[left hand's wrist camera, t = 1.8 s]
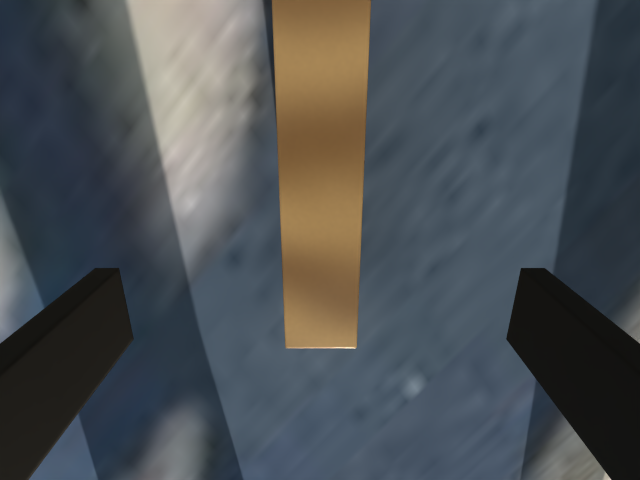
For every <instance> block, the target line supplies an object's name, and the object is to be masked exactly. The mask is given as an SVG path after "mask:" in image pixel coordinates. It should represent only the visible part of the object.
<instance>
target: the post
mask: <svg viewBox="0 0 640 480" xmlns="http://www.w3.org/2000/svg"><path fill="white" fill-rule="evenodd" d="M370 11H371V0H272V16H273V42H274V68H275V93H276V119H277V144H278V170H279V196H280V221H281V247H282V273H283V298H284V324H285V347H286V348H356V347H357V326H358V302H359V278H360V253H361V229H362V205H363V181H364V156H365V132H366V108H367V84H368V60H369V35H370Z"/></svg>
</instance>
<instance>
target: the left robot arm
mask: <svg viewBox="0 0 640 480" xmlns="http://www.w3.org/2000/svg"><path fill="white" fill-rule="evenodd" d="M133 339H134V338H133V333H132V329H131V324H130V319H129V314H128V310H127V305H126V300H125V295H124V290H123V286H122V281H121V276H120V271H119V268H95V269H94V270H92V271H91V272H90V273H89V274H87V275H86V276H85V277H84V278H82V279H81V280H80V281H79V282H77V283H76V284H75V285H74V286H72V287H71V288H70V289H69V290H67V291H66V292H65V293H63V294H62V295H61V296H60V297H58V298H57V299H56V300H55V301H53V302H52V303H51V304H50V305H48V306H47V307H46V308H45V309H43V310H42V311H41V312H40V313H38V314H37V315H36V316H34V317H33V318H32V319H31V320H29V321H28V322H27V323H26V324H24V325H23V326H22V327H21V328H19V329H18V330H17V331H16V332H14V333H13V334H12V335H11V336H9V337H8V338H7V339H6V340H4V341H3V342H2V343H0V480H29V478H30V477H31V476H32V474H33V473H34V472H35V470H36V469H37V468H38V466H39V465H40V464H41V462H42V461H43V460H44V458H45V457H46V456H47V454H48V453H49V452H50V450H51V449H52V448H53V446H54V445H55V444H56V442H57V441H58V440H59V438H60V437H61V436H62V434H63V433H64V432H65V430H66V429H67V428H68V426H69V425H70V423H71V422H72V421H73V419H74V418H75V417H76V415H77V414H78V413H79V411H80V410H81V409H82V407H83V406H84V405H85V403H86V402H87V401H88V399H89V398H90V397H91V395H92V394H93V393H94V391H95V390H96V389H97V387H98V386H99V385H100V383H101V382H102V381H103V379H104V378H105V377H106V375H107V374H108V373H109V371H110V370H111V369H112V367H113V366H114V365H115V363H116V362H117V361H118V359H119V358H120V357H121V355H122V354H123V353H124V351H125V350H126V349H127V347H128V346H129V345H130V343H131V342H132V341H133ZM506 339H507V341H508V342H509V343H510V345H511V346H512V347H513V349H514V350H515V351H516V353H517V354H518V355H519V357H520V358H521V359H522V361H523V362H524V363H525V365H526V366H527V367H528V369H529V370H530V371H531V373H532V374H533V375H534V377H535V378H536V379H537V381H538V382H539V383H540V385H541V386H542V387H543V389H544V390H545V391H546V393H547V394H548V395H549V397H550V398H551V399H552V401H553V402H554V403H555V405H556V406H557V407H558V409H559V410H560V411H561V413H562V414H563V415H564V417H565V418H566V419H567V421H568V422H569V423H570V425H571V426H572V428H573V429H574V430H575V432H576V433H577V434H578V436H579V437H580V438H581V440H582V441H583V442H584V444H585V445H586V446H587V448H588V449H589V450H590V452H591V453H592V454H593V456H594V457H595V458H596V460H597V461H598V462H599V464H600V465H601V466H602V468H603V469H604V470H605V472H606V473H607V474H608V476H609V477H610V478H611V480H640V343H638V342H637V341H636V340H634V339H633V338H632V337H631V336H629V335H628V334H627V333H626V332H624V331H623V330H622V329H621V328H619V327H618V326H617V325H616V324H614V323H613V322H612V321H611V320H609V319H608V318H607V317H606V316H604V315H603V314H602V313H600V312H599V311H598V310H597V309H595V308H594V307H593V306H592V305H590V304H589V303H588V302H587V301H585V300H584V299H583V298H582V297H580V296H579V295H578V294H577V293H575V292H574V291H573V290H571V289H570V288H569V287H568V286H566V285H565V284H564V283H563V282H561V281H560V280H559V279H558V278H556V277H555V276H554V275H553V274H551V273H550V272H549V271H548V270H546V269H545V268H521V271H520V276H519V281H518V286H517V290H516V295H515V300H514V305H513V309H512V314H511V319H510V324H509V329H508V333H507V338H506Z"/></svg>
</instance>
